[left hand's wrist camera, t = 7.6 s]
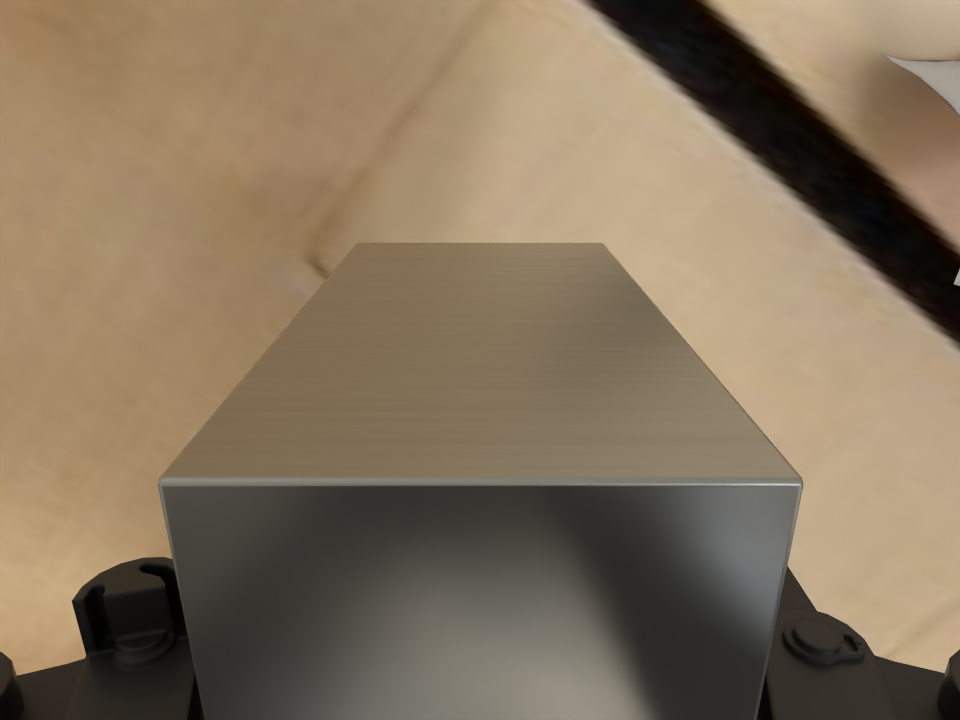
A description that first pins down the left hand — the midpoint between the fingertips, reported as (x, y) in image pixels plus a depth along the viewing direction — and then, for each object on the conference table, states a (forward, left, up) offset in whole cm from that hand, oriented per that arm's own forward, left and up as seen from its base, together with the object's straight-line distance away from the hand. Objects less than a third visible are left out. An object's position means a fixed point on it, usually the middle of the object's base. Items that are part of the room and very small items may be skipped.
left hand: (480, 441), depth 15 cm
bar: (+2, +8, -1) cm, 8 cm away
